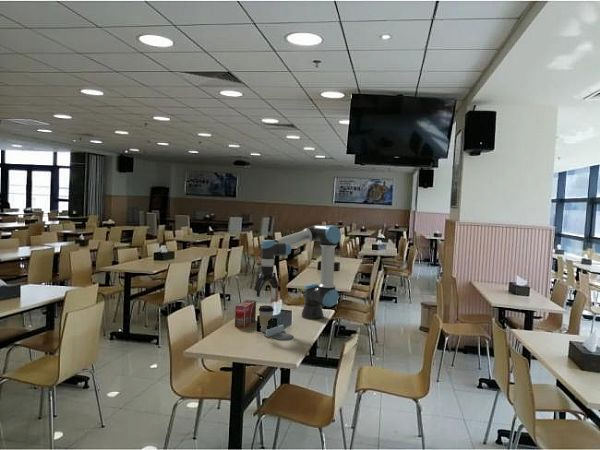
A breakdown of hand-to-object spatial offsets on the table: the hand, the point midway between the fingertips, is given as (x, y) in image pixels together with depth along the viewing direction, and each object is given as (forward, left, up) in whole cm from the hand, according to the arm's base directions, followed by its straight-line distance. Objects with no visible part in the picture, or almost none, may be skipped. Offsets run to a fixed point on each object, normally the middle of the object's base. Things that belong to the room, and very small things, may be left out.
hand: (266, 300), depth 285 cm
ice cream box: (-6, -21, -19) cm, 29 cm away
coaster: (+3, +16, -19) cm, 25 cm away
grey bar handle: (+1, +8, -19) cm, 21 cm away
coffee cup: (0, 0, -19) cm, 19 cm away
